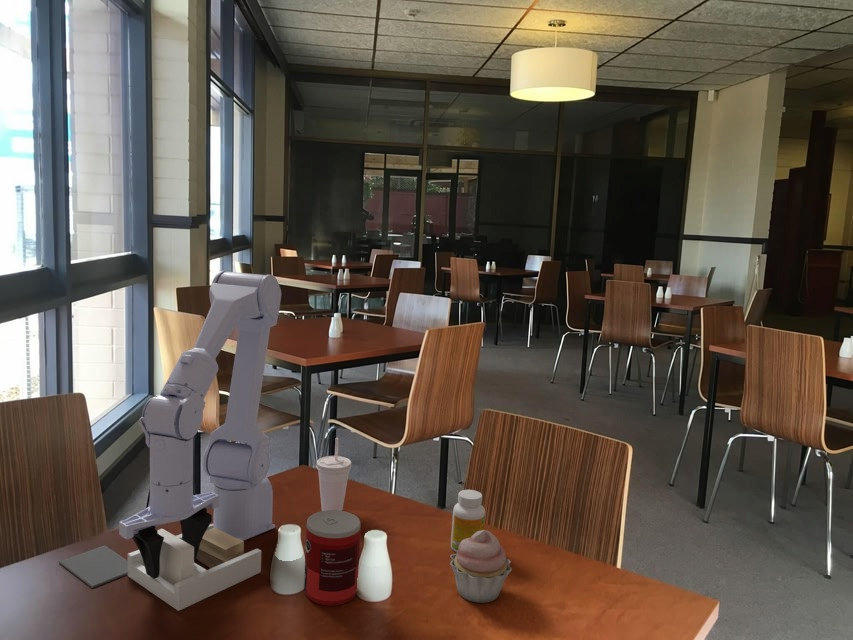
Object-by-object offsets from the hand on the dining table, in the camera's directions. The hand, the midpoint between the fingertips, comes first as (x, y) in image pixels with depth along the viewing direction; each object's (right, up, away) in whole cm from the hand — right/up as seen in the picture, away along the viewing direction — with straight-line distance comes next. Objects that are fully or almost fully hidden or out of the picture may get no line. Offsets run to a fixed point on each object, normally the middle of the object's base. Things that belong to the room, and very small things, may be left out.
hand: (171, 567), depth 98 cm
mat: (-12, -1, +4) cm, 13 cm away
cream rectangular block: (0, -3, 0) cm, 3 cm away
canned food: (+23, -4, +1) cm, 23 cm away
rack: (+2, -2, +4) cm, 5 cm away
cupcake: (+45, -5, +3) cm, 45 cm away
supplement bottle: (+44, -3, +17) cm, 47 cm away
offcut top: (+5, 0, +7) cm, 8 cm away
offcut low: (+5, -2, +7) cm, 9 cm away
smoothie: (+19, 0, +27) cm, 34 cm away
